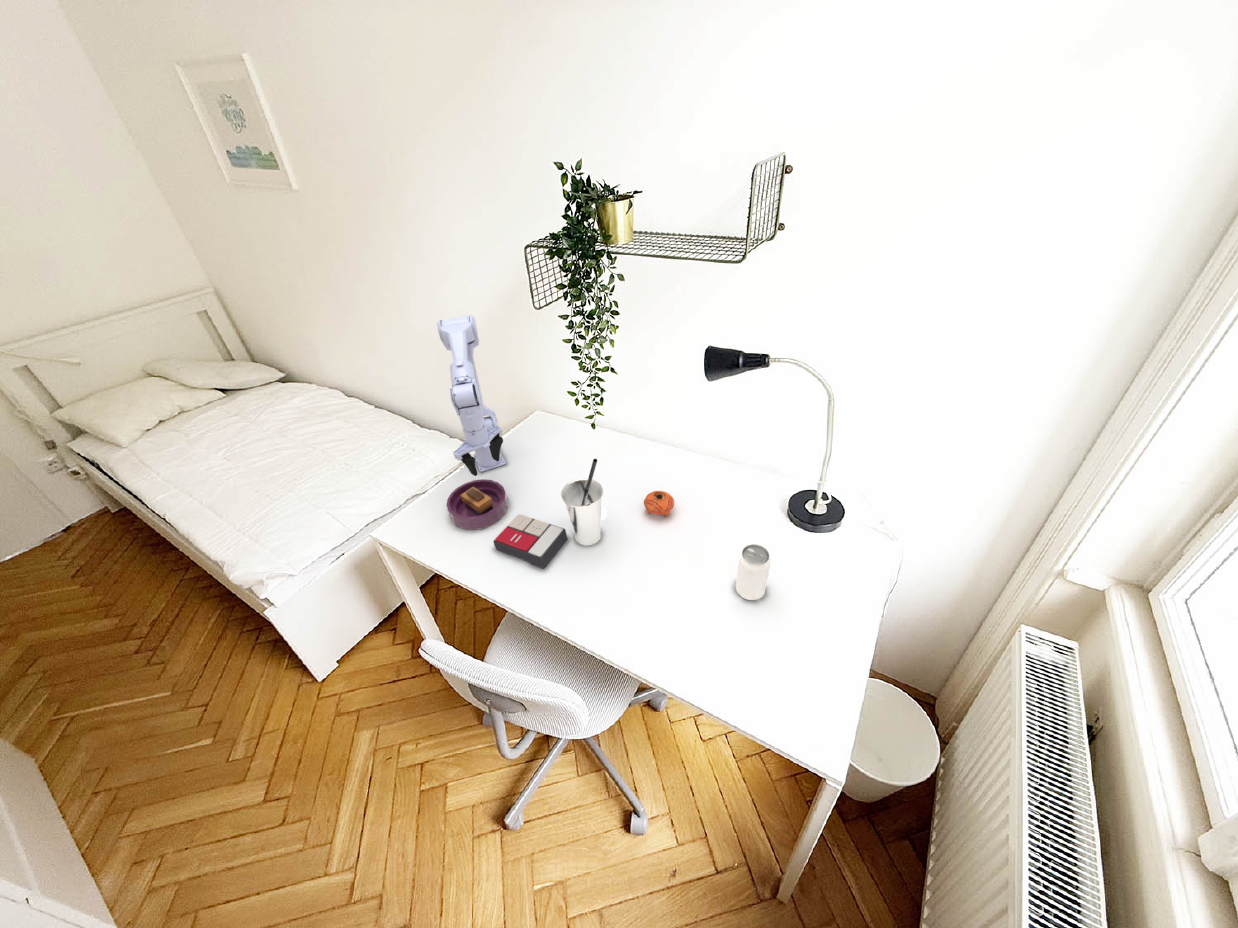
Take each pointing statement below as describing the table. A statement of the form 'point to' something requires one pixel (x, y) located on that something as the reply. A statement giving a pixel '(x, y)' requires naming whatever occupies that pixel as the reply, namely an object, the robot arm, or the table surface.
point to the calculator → (531, 540)
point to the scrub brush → (477, 501)
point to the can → (752, 572)
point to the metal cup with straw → (584, 507)
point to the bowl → (468, 518)
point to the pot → (659, 503)
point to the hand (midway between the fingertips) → (485, 466)
